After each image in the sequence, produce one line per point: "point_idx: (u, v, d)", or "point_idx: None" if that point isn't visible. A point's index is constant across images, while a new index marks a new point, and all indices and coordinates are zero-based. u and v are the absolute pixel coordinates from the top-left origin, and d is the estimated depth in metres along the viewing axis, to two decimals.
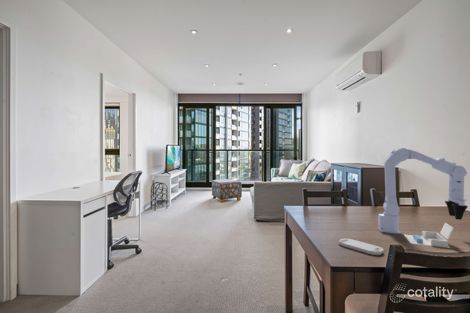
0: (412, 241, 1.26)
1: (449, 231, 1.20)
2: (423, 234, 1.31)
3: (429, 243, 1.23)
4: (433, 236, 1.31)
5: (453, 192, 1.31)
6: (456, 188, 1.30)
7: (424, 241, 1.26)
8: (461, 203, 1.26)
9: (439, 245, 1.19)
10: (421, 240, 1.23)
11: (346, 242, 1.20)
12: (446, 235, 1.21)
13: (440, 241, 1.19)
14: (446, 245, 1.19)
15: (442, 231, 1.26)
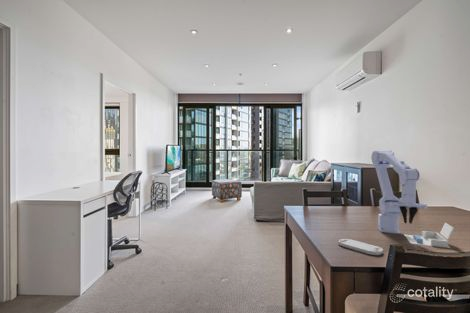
0: (412, 241, 1.26)
1: (449, 231, 1.20)
2: (423, 234, 1.31)
3: (429, 243, 1.23)
4: (433, 236, 1.31)
5: None
6: None
7: (424, 241, 1.26)
8: (390, 204, 1.31)
9: (439, 245, 1.19)
10: (421, 240, 1.23)
11: (345, 242, 1.20)
12: (446, 235, 1.21)
13: (440, 241, 1.19)
14: (446, 245, 1.19)
15: (442, 231, 1.26)
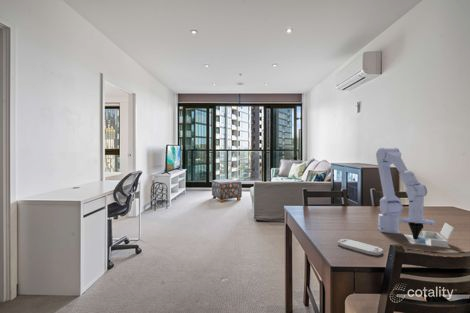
0: (412, 241, 1.26)
1: (449, 231, 1.20)
2: (423, 234, 1.31)
3: (429, 243, 1.23)
4: (433, 236, 1.31)
5: None
6: (409, 207, 1.27)
7: None
8: (397, 219, 1.30)
9: (439, 245, 1.19)
10: (424, 240, 1.23)
11: (345, 243, 1.20)
12: (446, 235, 1.21)
13: (440, 241, 1.19)
14: (446, 245, 1.19)
15: (442, 231, 1.26)
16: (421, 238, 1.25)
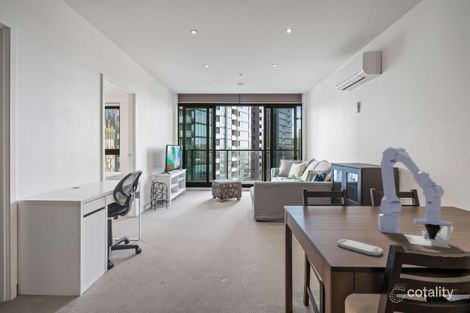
0: (412, 241, 1.26)
1: (449, 231, 1.20)
2: (423, 234, 1.31)
3: (429, 243, 1.23)
4: None
5: None
6: (427, 209, 1.24)
7: (424, 241, 1.26)
8: (413, 221, 1.28)
9: (439, 245, 1.19)
10: None
11: (345, 243, 1.19)
12: (446, 235, 1.21)
13: (440, 241, 1.19)
14: (446, 245, 1.19)
15: (442, 231, 1.26)
16: None
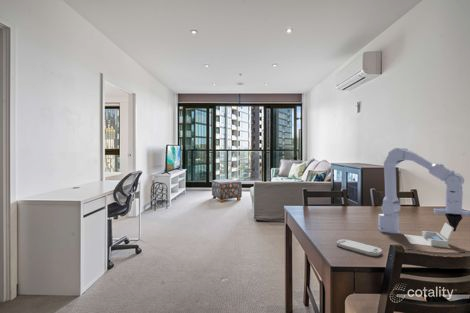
0: (412, 241, 1.26)
1: (449, 231, 1.20)
2: (423, 234, 1.31)
3: (429, 243, 1.23)
4: None
5: None
6: (450, 198, 1.21)
7: (424, 241, 1.26)
8: (434, 211, 1.25)
9: (439, 245, 1.19)
10: None
11: (344, 243, 1.19)
12: (446, 235, 1.21)
13: (440, 241, 1.19)
14: (446, 245, 1.19)
15: (442, 231, 1.26)
16: None
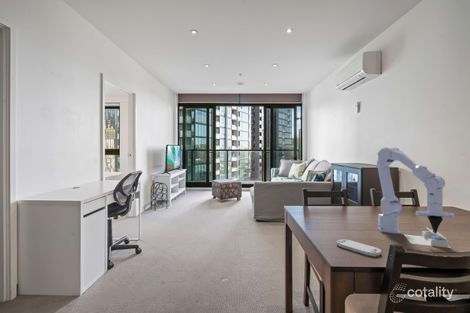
0: (412, 241, 1.26)
1: (437, 235, 1.22)
2: (423, 234, 1.31)
3: (429, 243, 1.23)
4: None
5: None
6: (429, 201, 1.24)
7: (424, 241, 1.26)
8: (416, 213, 1.27)
9: (439, 245, 1.19)
10: None
11: (344, 243, 1.19)
12: (442, 237, 1.21)
13: (440, 241, 1.19)
14: (446, 245, 1.19)
15: (437, 233, 1.27)
16: None
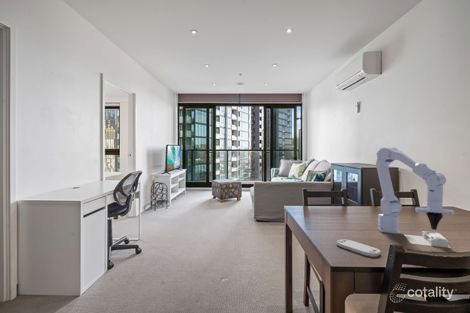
0: (412, 241, 1.26)
1: None
2: (423, 234, 1.31)
3: (429, 243, 1.23)
4: None
5: None
6: (429, 197, 1.24)
7: (424, 241, 1.26)
8: (415, 209, 1.27)
9: (439, 245, 1.19)
10: None
11: (343, 243, 1.19)
12: None
13: (440, 241, 1.19)
14: (446, 245, 1.19)
15: None
16: None
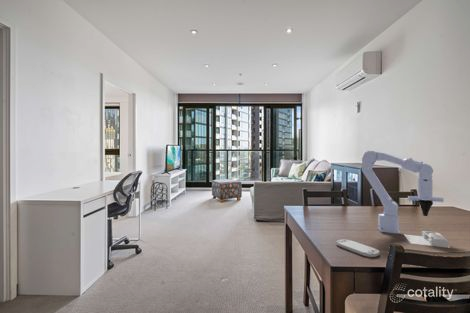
0: (412, 241, 1.26)
1: None
2: (423, 234, 1.31)
3: (429, 243, 1.23)
4: None
5: None
6: (423, 186, 1.32)
7: (424, 241, 1.26)
8: (408, 198, 1.37)
9: (439, 245, 1.19)
10: None
11: (343, 243, 1.20)
12: None
13: (440, 241, 1.19)
14: (446, 245, 1.19)
15: None
16: None
